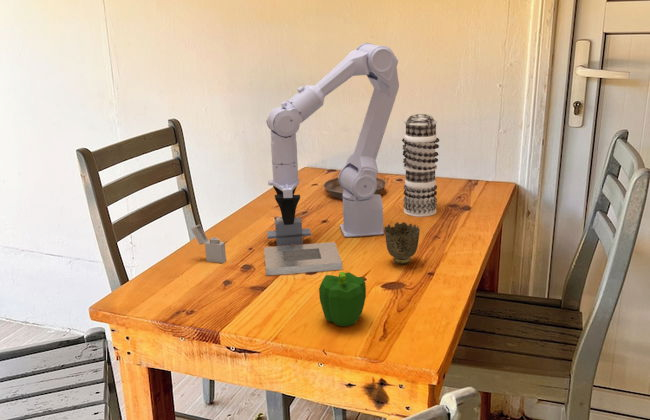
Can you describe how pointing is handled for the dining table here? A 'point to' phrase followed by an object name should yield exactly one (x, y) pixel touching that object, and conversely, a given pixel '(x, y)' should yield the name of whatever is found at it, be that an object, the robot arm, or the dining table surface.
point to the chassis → (302, 258)
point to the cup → (402, 241)
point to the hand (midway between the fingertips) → (287, 218)
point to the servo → (288, 232)
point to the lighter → (210, 246)
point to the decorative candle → (420, 165)
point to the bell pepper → (342, 298)
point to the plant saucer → (337, 190)
